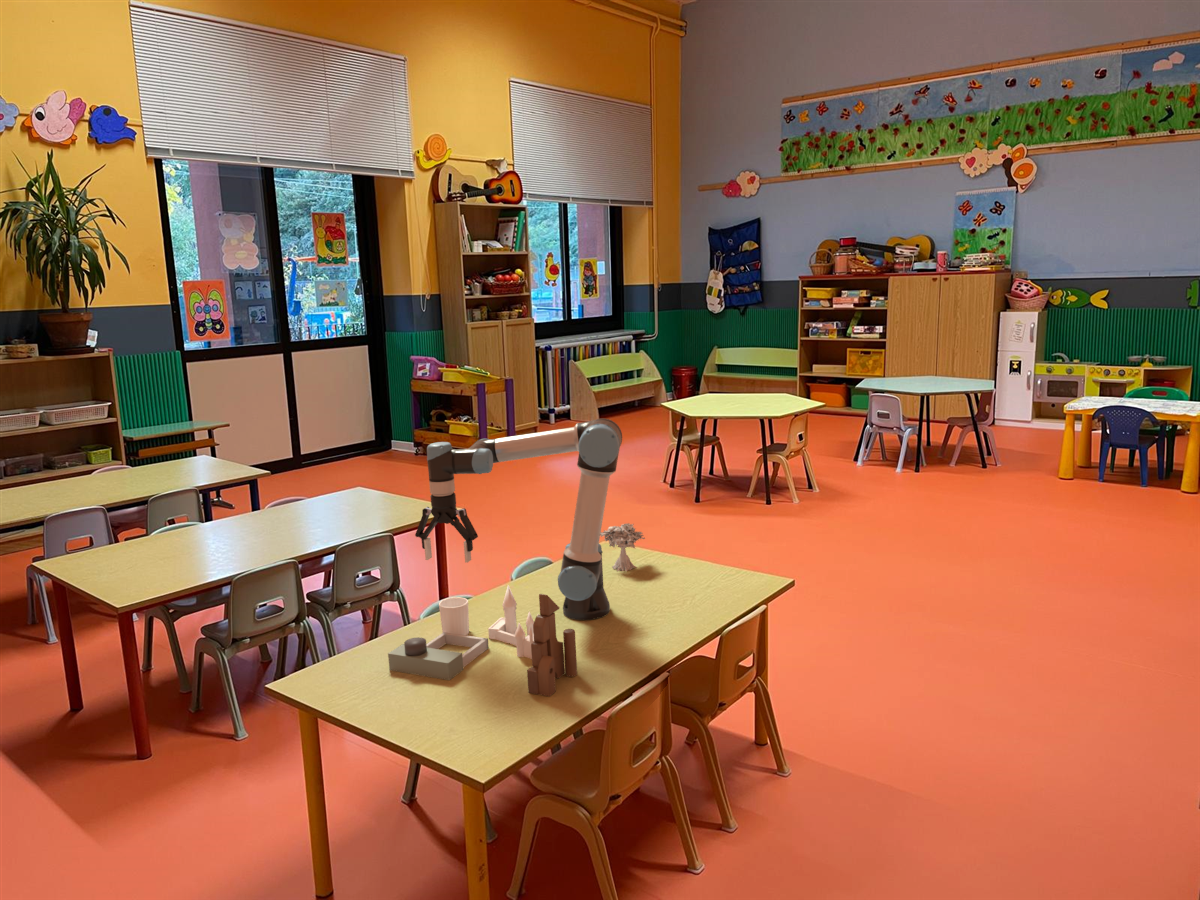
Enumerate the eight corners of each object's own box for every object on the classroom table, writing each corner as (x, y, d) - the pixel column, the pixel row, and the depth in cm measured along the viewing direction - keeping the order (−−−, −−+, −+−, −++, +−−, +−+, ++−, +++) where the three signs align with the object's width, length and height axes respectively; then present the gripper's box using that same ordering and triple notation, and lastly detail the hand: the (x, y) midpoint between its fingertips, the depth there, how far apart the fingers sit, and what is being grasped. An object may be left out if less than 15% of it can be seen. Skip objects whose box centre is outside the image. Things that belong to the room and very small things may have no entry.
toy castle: (504, 626, 278) (500, 577, 275) (563, 644, 263) (560, 592, 260) (470, 642, 267) (466, 591, 264) (530, 661, 252) (526, 608, 249)
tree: (631, 577, 317) (629, 533, 313) (593, 572, 325) (591, 528, 321) (654, 563, 332) (652, 520, 328) (617, 557, 340) (615, 516, 337)
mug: (460, 641, 268) (457, 609, 266) (435, 637, 271) (432, 605, 269) (479, 628, 277) (477, 596, 275) (455, 624, 281) (453, 593, 279)
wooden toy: (549, 697, 230) (544, 606, 225) (528, 692, 233) (522, 602, 228) (579, 673, 243) (574, 586, 238) (558, 669, 246) (553, 583, 241)
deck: (490, 648, 262) (489, 622, 260) (449, 680, 242) (447, 652, 240) (434, 639, 270) (432, 615, 268) (389, 670, 250) (387, 643, 248)
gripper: (485, 491, 269) (490, 558, 273) (412, 489, 277) (418, 554, 281) (474, 497, 262) (479, 566, 266) (400, 494, 270) (406, 561, 274)
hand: (448, 560), depth 274 cm, fingers open, 13 cm apart
